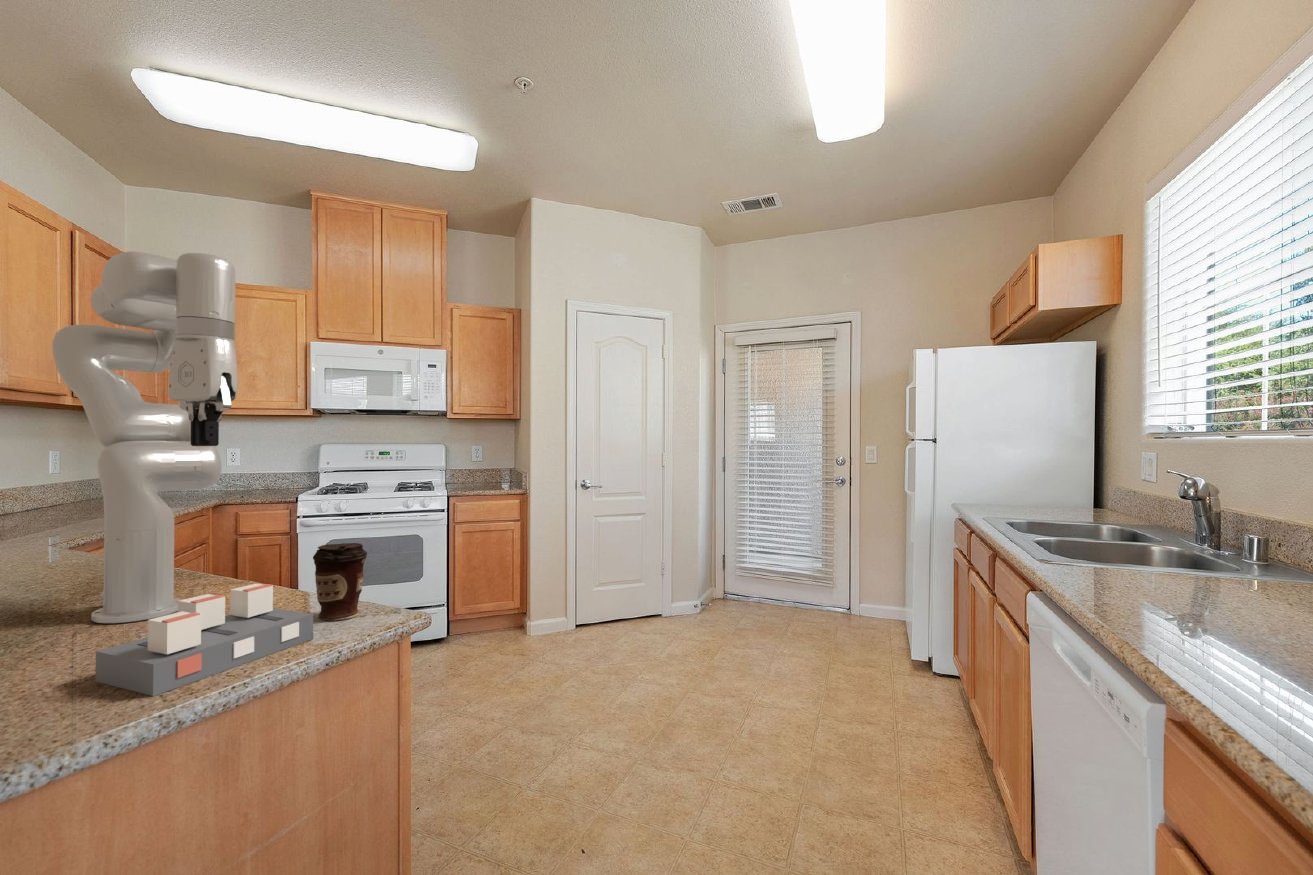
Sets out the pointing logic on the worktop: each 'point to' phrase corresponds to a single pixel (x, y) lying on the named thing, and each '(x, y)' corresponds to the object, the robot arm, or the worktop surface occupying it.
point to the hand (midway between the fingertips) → (204, 445)
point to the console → (202, 652)
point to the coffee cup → (339, 579)
